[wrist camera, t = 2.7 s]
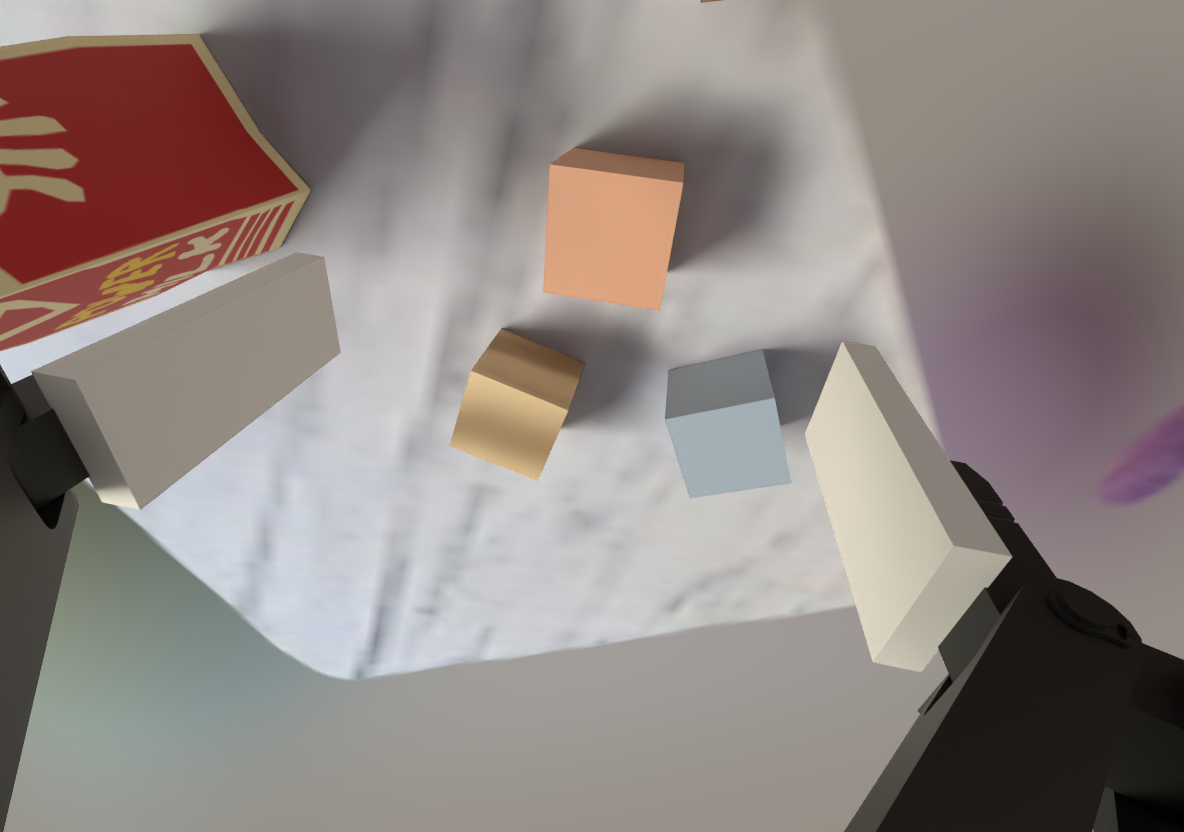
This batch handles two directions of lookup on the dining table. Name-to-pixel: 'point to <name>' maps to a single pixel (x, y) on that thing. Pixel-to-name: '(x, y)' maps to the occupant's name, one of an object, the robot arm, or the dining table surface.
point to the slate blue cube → (726, 425)
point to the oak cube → (516, 403)
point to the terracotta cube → (611, 226)
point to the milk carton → (125, 177)
